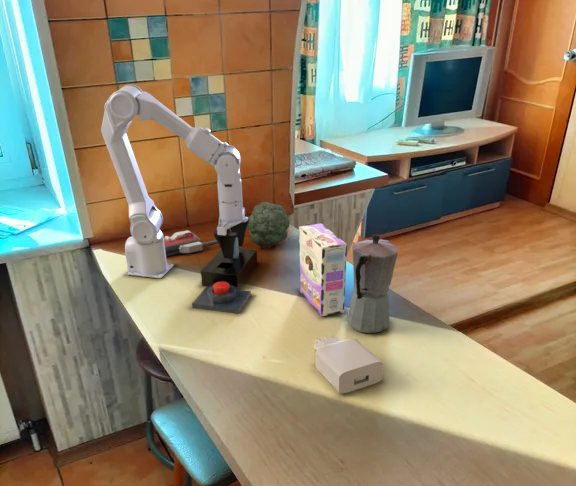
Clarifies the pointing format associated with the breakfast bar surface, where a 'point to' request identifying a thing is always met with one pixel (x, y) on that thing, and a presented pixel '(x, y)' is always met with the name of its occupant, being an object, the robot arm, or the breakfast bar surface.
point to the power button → (221, 288)
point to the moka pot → (371, 284)
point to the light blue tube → (236, 249)
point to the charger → (347, 364)
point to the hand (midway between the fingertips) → (233, 251)
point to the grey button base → (222, 300)
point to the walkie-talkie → (184, 243)
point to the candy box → (322, 268)
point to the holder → (229, 268)
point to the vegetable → (268, 224)
